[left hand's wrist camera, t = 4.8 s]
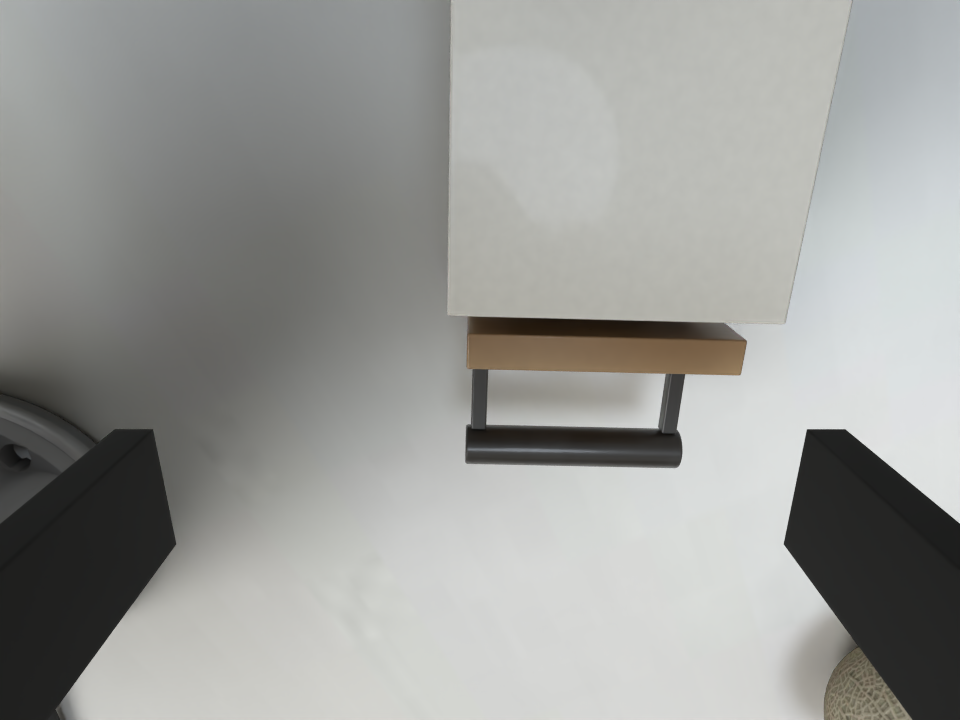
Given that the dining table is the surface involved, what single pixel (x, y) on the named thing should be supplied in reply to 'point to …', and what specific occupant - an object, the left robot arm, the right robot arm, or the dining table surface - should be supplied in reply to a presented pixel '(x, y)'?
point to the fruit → (860, 692)
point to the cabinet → (635, 155)
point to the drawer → (591, 351)
